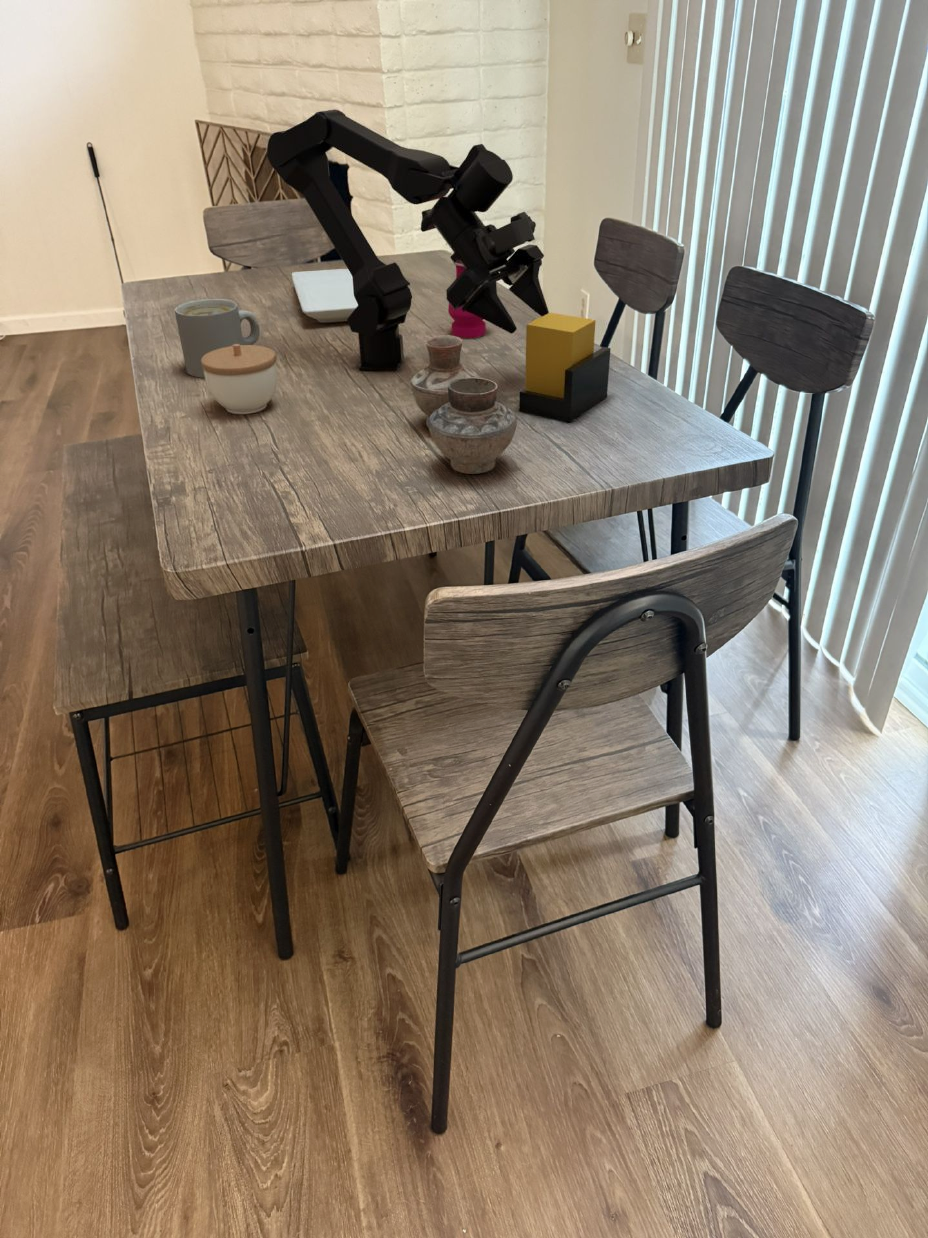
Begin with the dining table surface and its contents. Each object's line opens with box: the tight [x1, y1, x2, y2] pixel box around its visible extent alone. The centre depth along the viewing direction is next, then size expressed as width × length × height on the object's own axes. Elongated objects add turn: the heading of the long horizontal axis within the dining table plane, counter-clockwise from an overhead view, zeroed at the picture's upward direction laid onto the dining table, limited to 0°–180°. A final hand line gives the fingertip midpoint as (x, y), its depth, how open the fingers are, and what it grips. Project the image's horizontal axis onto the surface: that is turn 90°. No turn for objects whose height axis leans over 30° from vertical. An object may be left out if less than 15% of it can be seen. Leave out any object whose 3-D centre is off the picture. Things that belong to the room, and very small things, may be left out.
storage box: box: [524, 312, 597, 398], centre depth 130 cm, size 8×7×12 cm
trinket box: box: [201, 344, 278, 415], centre depth 132 cm, size 11×11×9 cm
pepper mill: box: [447, 261, 487, 339], centre depth 157 cm, size 7×7×20 cm
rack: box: [518, 346, 611, 423], centre depth 131 cm, size 8×12×8 cm
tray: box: [291, 268, 358, 324], centre depth 179 cm, size 17×31×4 cm, turn 13°
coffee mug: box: [174, 298, 260, 379], centre depth 148 cm, size 13×10×10 cm
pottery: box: [409, 334, 518, 475], centre depth 118 cm, size 11×25×12 cm, turn 15°
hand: (530, 323), depth 130 cm, fingers open, 9 cm apart
